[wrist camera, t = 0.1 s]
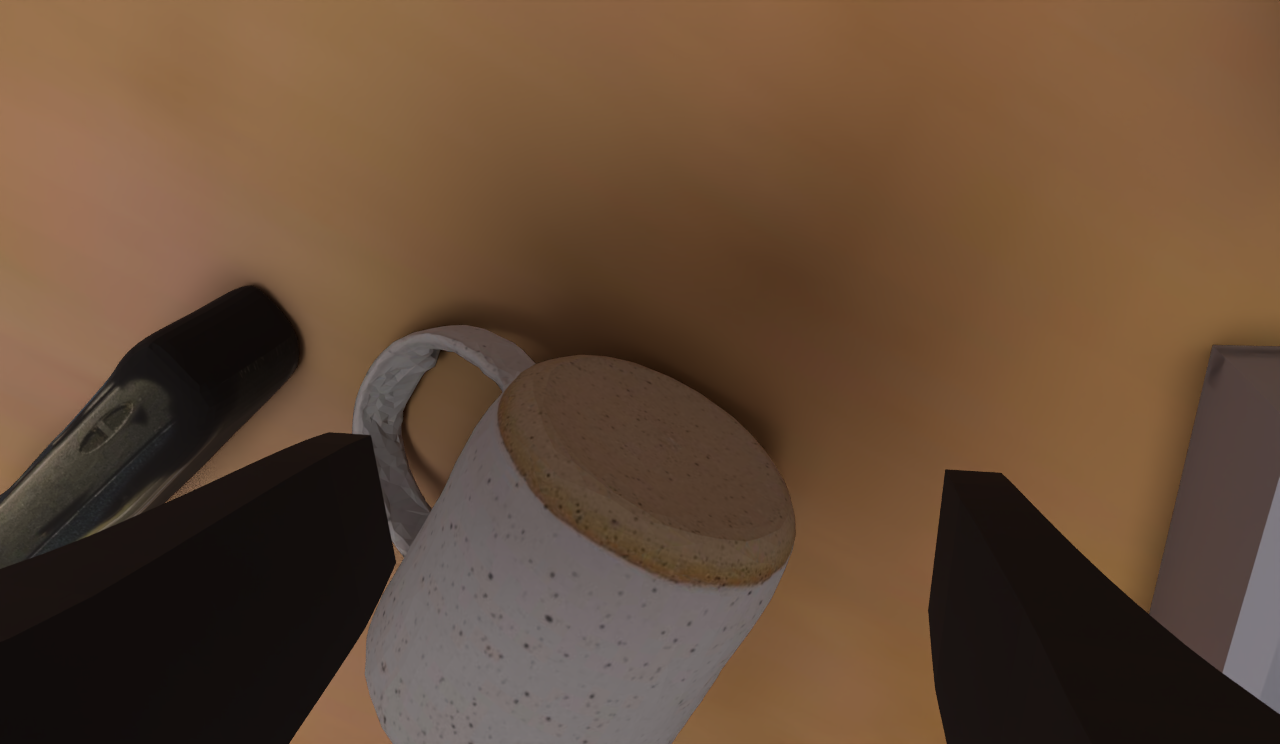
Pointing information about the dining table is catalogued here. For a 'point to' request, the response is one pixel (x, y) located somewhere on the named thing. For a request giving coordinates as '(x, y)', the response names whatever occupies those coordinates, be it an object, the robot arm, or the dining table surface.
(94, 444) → the stapler
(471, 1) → the dining table surface
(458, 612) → the ceramic mug
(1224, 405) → the tray
